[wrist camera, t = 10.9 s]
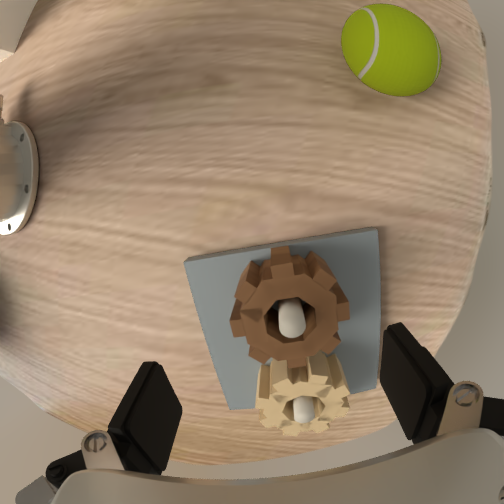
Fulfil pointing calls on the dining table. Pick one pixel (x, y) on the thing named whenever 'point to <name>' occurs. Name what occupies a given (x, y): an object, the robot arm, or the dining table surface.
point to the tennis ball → (391, 50)
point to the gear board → (294, 333)
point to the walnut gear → (283, 287)
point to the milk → (13, 24)
